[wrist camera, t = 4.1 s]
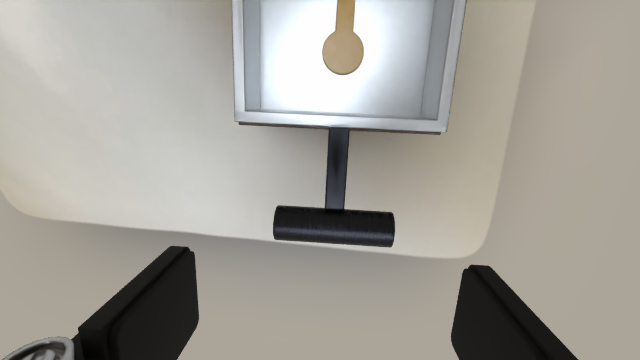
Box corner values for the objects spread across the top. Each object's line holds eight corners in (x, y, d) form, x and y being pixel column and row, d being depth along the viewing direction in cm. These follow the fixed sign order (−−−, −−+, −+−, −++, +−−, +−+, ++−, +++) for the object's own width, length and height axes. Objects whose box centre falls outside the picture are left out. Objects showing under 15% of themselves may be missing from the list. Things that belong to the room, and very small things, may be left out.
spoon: (361, 75, 18) (362, 75, 17) (321, 74, 18) (321, 73, 18) (371, -45, 16) (372, -50, 16) (326, -47, 16) (326, -51, 16)
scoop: (414, 213, 21) (443, 257, 15) (254, 204, 21) (223, 242, 15) (459, -127, 16) (529, -257, 10) (250, -130, 16) (203, -256, 10)
